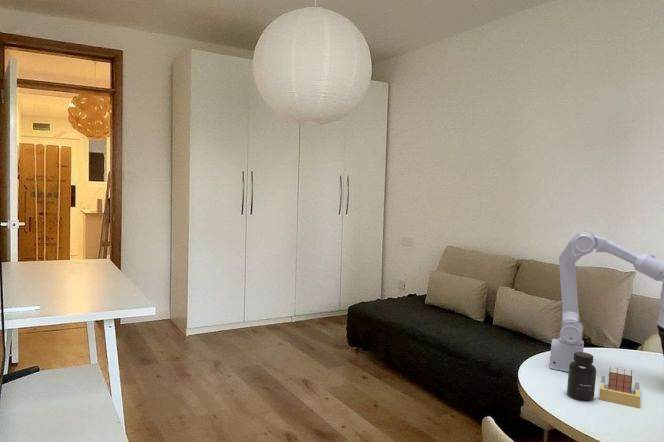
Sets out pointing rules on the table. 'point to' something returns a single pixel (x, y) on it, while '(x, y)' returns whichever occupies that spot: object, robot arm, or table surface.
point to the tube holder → (620, 395)
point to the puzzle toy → (620, 379)
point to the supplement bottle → (581, 377)
